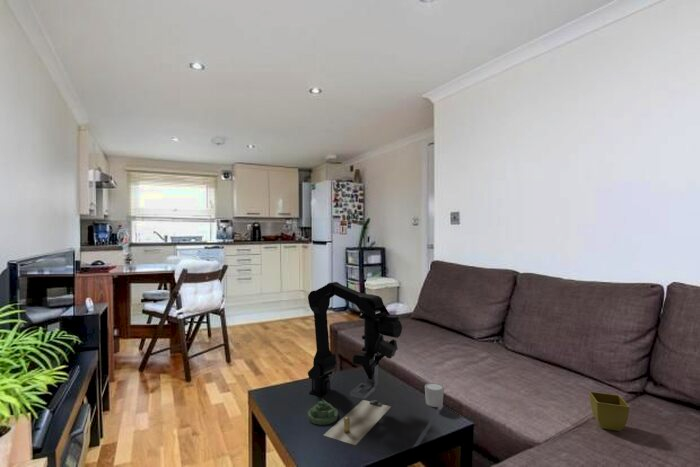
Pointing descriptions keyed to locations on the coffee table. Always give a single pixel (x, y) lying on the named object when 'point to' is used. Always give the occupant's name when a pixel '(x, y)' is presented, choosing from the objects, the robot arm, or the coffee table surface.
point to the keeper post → (347, 425)
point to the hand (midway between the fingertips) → (372, 377)
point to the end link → (366, 385)
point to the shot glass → (434, 395)
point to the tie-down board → (358, 421)
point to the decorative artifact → (322, 413)
